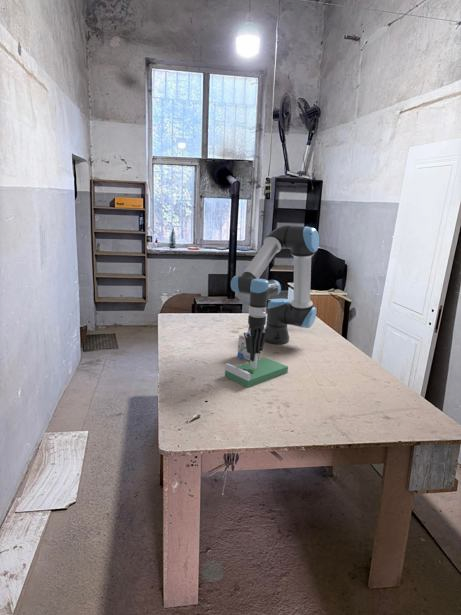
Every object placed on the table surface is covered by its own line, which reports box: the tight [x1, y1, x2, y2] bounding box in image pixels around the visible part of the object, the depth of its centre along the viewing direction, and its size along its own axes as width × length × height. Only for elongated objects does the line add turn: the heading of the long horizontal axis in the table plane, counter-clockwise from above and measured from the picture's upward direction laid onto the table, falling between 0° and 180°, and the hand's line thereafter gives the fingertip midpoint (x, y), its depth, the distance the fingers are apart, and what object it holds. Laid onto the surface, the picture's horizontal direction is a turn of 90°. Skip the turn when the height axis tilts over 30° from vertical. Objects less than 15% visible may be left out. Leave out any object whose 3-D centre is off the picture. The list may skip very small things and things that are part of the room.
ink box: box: [237, 332, 251, 362], centre depth 207 cm, size 9×5×12 cm, turn 62°
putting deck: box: [224, 357, 289, 388], centre depth 188 cm, size 14×26×6 cm, turn 133°
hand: (253, 367), depth 186 cm, fingers closed
